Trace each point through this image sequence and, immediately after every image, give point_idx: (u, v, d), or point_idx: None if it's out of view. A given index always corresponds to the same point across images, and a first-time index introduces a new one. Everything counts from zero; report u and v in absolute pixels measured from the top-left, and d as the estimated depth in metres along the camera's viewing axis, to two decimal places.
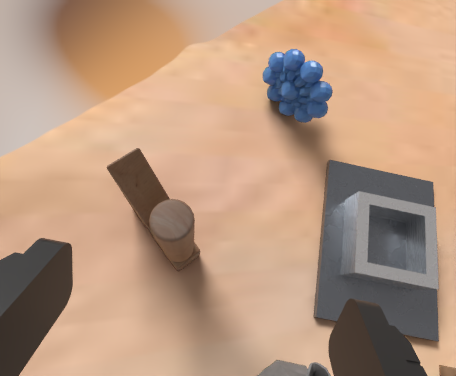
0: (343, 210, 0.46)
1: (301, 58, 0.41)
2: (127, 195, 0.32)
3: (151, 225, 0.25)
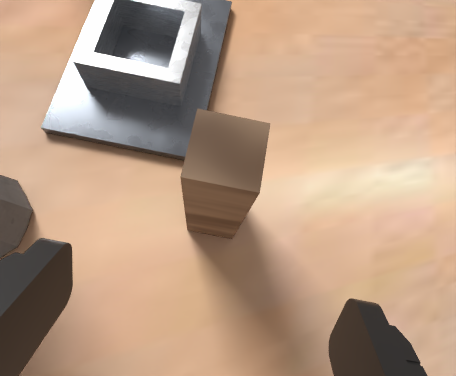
0: None
1: None
2: None
3: None
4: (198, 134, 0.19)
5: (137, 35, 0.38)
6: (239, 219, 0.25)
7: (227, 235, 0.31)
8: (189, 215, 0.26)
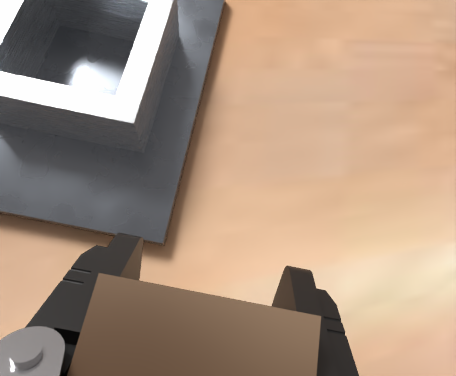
0: None
1: None
2: None
3: None
4: (91, 374, 0.06)
5: (80, 39, 0.25)
6: None
7: None
8: None
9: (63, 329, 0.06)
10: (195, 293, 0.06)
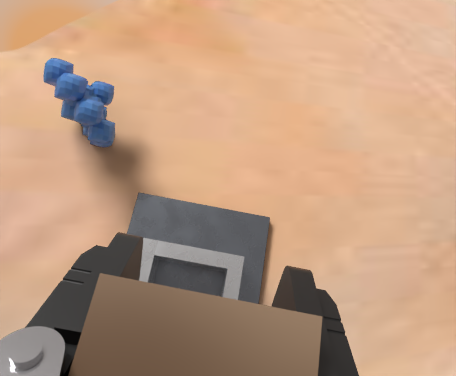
0: None
1: (57, 69, 0.32)
2: None
3: None
4: (93, 375, 0.06)
5: (174, 270, 0.36)
6: None
7: None
8: None
9: (63, 329, 0.06)
10: (196, 293, 0.06)
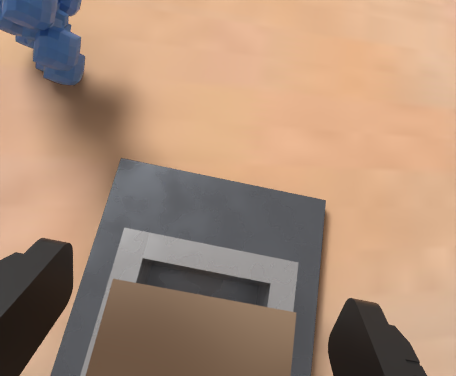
0: None
1: None
2: None
3: None
4: (109, 361, 0.07)
5: (176, 283, 0.22)
6: None
7: None
8: None
9: None
10: (192, 294, 0.08)
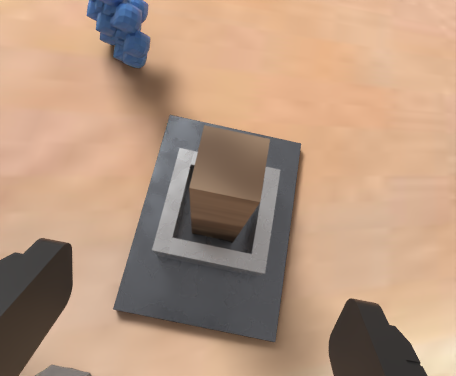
0: None
1: None
2: None
3: None
4: (205, 149, 0.21)
5: None
6: (241, 224, 0.27)
7: (229, 238, 0.33)
8: (194, 220, 0.28)
9: None
10: (232, 131, 0.22)
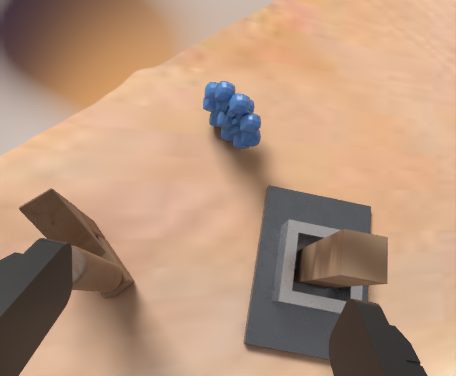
0: (278, 236, 0.47)
1: (229, 90, 0.42)
2: (43, 233, 0.34)
3: None
4: (347, 246, 0.32)
5: (302, 246, 0.47)
6: (352, 285, 0.37)
7: (326, 287, 0.44)
8: (313, 280, 0.39)
9: None
10: None
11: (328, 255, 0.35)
